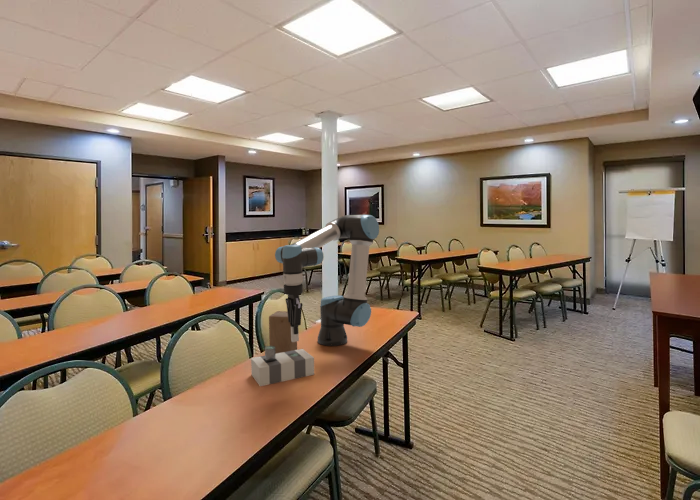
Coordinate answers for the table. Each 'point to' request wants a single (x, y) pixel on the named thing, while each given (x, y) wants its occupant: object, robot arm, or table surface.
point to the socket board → (282, 367)
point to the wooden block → (280, 332)
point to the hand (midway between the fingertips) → (295, 341)
